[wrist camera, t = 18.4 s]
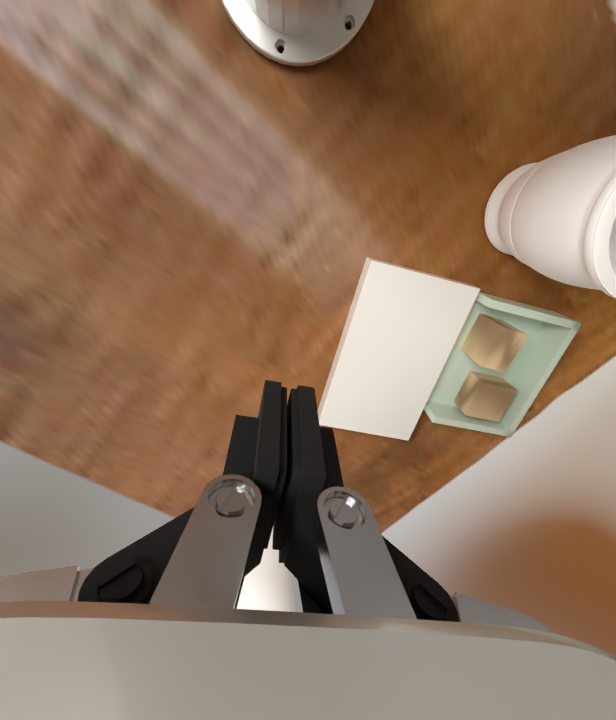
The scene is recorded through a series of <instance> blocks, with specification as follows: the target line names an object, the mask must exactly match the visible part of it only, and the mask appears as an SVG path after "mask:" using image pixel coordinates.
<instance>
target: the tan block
mask: <svg viewBox="0 0 616 720" xmlns="http://www.w3.org/2000/svg"><path fill="white" fill-rule="evenodd" d="M516 392H517V390H516V389H515V388H514V387H513V386H511V385H510V384H509V383H508V382H507V381H506V380H504V379H503V378H501V377H496V376H492V375H487V374H483V373H478V372H474V371H469V373H468V375H467V377H466V379H465V381H464V383H463V385H462V387H461V389H460V390H459V392H458V394H457V396H456V398H455V400H454V402H455V404H456V405H457V406H458V407H459V408H460V410H461V411H462V412H463V413H464V415H466V416H471V417H476V418H481V419H486V420H491V421H496V422H499V420H500V419H501V417H502V415H503V414H504V412H505V410H506V409H507V407H508V405H509V404H510V402H511V400H512V399H513V397H514V395H515V394H516Z"/></svg>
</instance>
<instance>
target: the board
mask: <svg viewBox="0 0 616 720" xmlns="http://www.w3.org/2000/svg"><path fill="white" fill-rule="evenodd" d="M479 291H480V289H479V288H477V287H475V286H473V285H471V284H467V283H464V282H460V281H456V280H452V279H449V278H445V277H441V276H437V275H434V274H430V273H426V272H422V271H418V270H415V269H411V268H407V267H403V266H400V265H396V264H392V263H388V262H384V261H381V260H377V259H373V258H369V257H367V258H366V261H365V264H364V267H363V271H362V274H361V277H360V280H359V283H358V286H357V289H356V292H355V296H354V299H353V302H352V305H351V308H350V311H349V314H348V318H347V321H346V324H345V327H344V330H343V333H342V336H341V339H340V343H339V346H338V349H337V352H336V355H335V358H334V361H333V364H332V368H331V371H330V374H329V377H328V380H327V383H326V386H325V389H324V393H323V396H322V399H321V402H320V405H319V408H318V419H319V425H323V426H329V427H335V428H340V429H346V430H352V431H357V432H363V433H368V434H374V435H380V436H385V437H391V438H397V439H402V440H408V441H409V438H410V436H411V434H412V432H413V430H414V428H415V426H416V424H417V422H418V419H419V417H420V415H421V413H422V411H423V409H424V407H425V405H426V403H427V401H428V398H429V396H430V394H431V392H432V390H433V388H434V386H435V384H436V382H437V380H438V377H439V375H440V373H441V371H442V369H443V367H444V365H445V363H446V361H447V358H448V356H449V354H450V352H451V350H452V348H453V346H454V344H455V342H456V340H457V337H458V335H459V333H460V331H461V329H462V327H463V325H464V323H465V321H466V318H467V316H468V314H469V312H470V310H471V308H472V306H473V304H474V302H475V300H476V297H477V295H478V293H479Z"/></svg>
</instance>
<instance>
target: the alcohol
mask: <svg viewBox="0 0 616 720" xmlns="http://www.w3.org/2000/svg"><path fill="white" fill-rule="evenodd" d="M272 545H273V528H272V532H271V536H270V540H269V544H268V548H267V549H264V551H263V555H262V559H261V563H260V564H259V565H258V566H257V567H255V568H254V569H253V570H252V571H251V572H250V573H249V574H247V575H246V576H245V578H244V582H243V586H242V590H241V594H240V598H239V602H238V606H237V609H250V610H268V611H286V612H296V605H295V599H294V592H293V586H292V578H293V574H292V573H291V572H290V571H289V570H288V569H287V568H286V567H285V565H284V563H279V550H273V547H272Z"/></svg>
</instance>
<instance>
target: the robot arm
mask: <svg viewBox="0 0 616 720" xmlns="http://www.w3.org/2000/svg"><path fill="white" fill-rule="evenodd" d="M221 2H222V4H223V6H224V8H225V10H226V12H227V14H228V16H229V18H230V20H231V22H232V23H233V25H234V26H235V27H236V29H237V30H238V32H239V33H240V35H241V36H242V37H243V38H244V39H245V40H246V41H247V42H248V43H249V44H250V45H251V46H252V47H253V48H254V49H255V50H257V51H258V52H260V53H261V54H262V55H264V56H265V57H267V58H268V59H271V60H273V61H276V62H278V63H281V64H284V65H290V66H297V67H298V66H310V65H314V64H317V63H320V62H323V61H326V60H328V59H329V58H331V57H333V56H334V55H336V54H337V53H339V52H340V51H341V50H342V49H343V48H344V47H345V46H347V45H348V44H349V43H350V42H351V41H352V39H353V38H354V37H355V35H356V34H357V33H358V31H359V30H360V28H361V27H362V26H363V24H364V22H365V20H366V18H367V16H368V14H369V12H370V10H371V7H372V5H373V2H374V0H221ZM346 24H349V25H350V27H351V29H350V30H347V29H346V28H345V25H346ZM279 47H282V48H283V49H284V52H283V53H279V52H278V48H279ZM272 528H273V545H272V547H273V550H279V563H284V565H285V567H286V568H287V569H288V570H289V571H290V572H291V573H292V574H293V578H292V586H293V592H294V599H295V605H296V612H286V611H268V610H250V609H237V606H238V602H239V598H240V594H241V590H242V586H243V582H244V578H245V576H246V575H247V574H249V573H250V572H251V571H252V570H253V569H254V568H255V567H257V566H258V565H259V564H260V563H261V559H262V555H263V551H264V549H267V548H268V544H269V540H270V536H271V532H272ZM0 720H616V656H613V655H611V654H609V653H607V652H605V651H603V650H601V649H599V648H597V647H595V646H592V645H589V644H587V643H584V642H581V641H578V640H575V639H572V638H569V637H566V636H563V635H559V634H554V633H551V632H550V631H549V629H547V628H546V627H545V626H544V625H543V624H541V623H540V622H539V621H537V620H535V619H533V618H531V617H529V616H527V615H524V614H520V613H518V612H515V611H511V610H508V609H505V608H502V607H499V606H496V605H493V604H490V603H487V602H483V601H481V600H477V599H474V598H471V597H468V596H465V595H462V594H459V593H455V594H454V595H453V596H450V595H449V594H448V593H447V592H446V591H445V590H444V589H443V588H442V586H440V585H439V584H438V583H437V582H436V581H435V580H434V579H433V578H431V577H430V576H429V575H428V574H427V573H426V572H424V571H423V570H422V569H421V568H419V567H418V566H417V565H416V564H415V563H414V562H413V561H411V560H410V559H409V558H408V557H407V556H405V555H404V554H403V553H402V552H401V551H399V550H398V549H397V548H396V547H395V546H394V545H392V544H391V543H390V542H389V541H388V540H386V539H385V538H384V537H383V536H382V535H381V532H380V530H379V527H378V525H377V523H376V520H375V518H374V515H373V513H372V511H371V508H370V507H369V505H368V503H367V502H366V500H365V499H364V498H363V497H362V496H361V495H359V494H358V493H356V492H355V491H353V490H351V489H348V488H345V487H344V486H343V481H342V475H341V470H340V465H339V459H338V454H337V449H336V443H335V438H334V433H333V430H332V429H331V428H325V427H320V426H319V419H318V411H317V404H316V397H315V389H314V388H312V387H306V386H300V385H298V387H297V389H291V391H290V396H289V400H288V404H287V388H285V387H281V382H274V381H268V380H265V384H264V389H263V395H262V400H261V405H260V411H259V416H258V418H254V417H247V416H240V415H236V418H235V422H234V427H233V431H232V436H231V440H230V445H229V450H228V454H227V459H226V463H225V468H224V472H223V475H222V476H220V477H217V478H215V479H213V480H212V481H210V482H209V483H208V484H207V485H206V487H205V488H204V489H203V491H202V493H201V495H200V497H199V499H198V502H197V504H196V506H195V507H194V508H192V509H190V510H189V511H187V512H185V513H184V514H182V515H180V516H178V517H177V518H175V519H173V520H172V521H170V522H168V523H166V524H165V525H163V526H161V527H160V528H158V529H156V530H155V531H153V532H151V533H150V534H148V535H146V536H144V537H143V538H141V539H139V540H137V541H136V542H134V543H132V544H131V545H129V546H127V547H126V548H124V549H122V550H120V551H119V552H117V553H115V554H114V555H112V556H110V557H108V558H107V559H105V560H104V561H103V562H101V563H100V564H99V565H97V566H96V567H95V568H92V569H85V570H79V566H72V567H65V568H57V569H50V570H44V571H36V572H29V573H22V574H15V575H8V576H1V577H0Z"/></svg>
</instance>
